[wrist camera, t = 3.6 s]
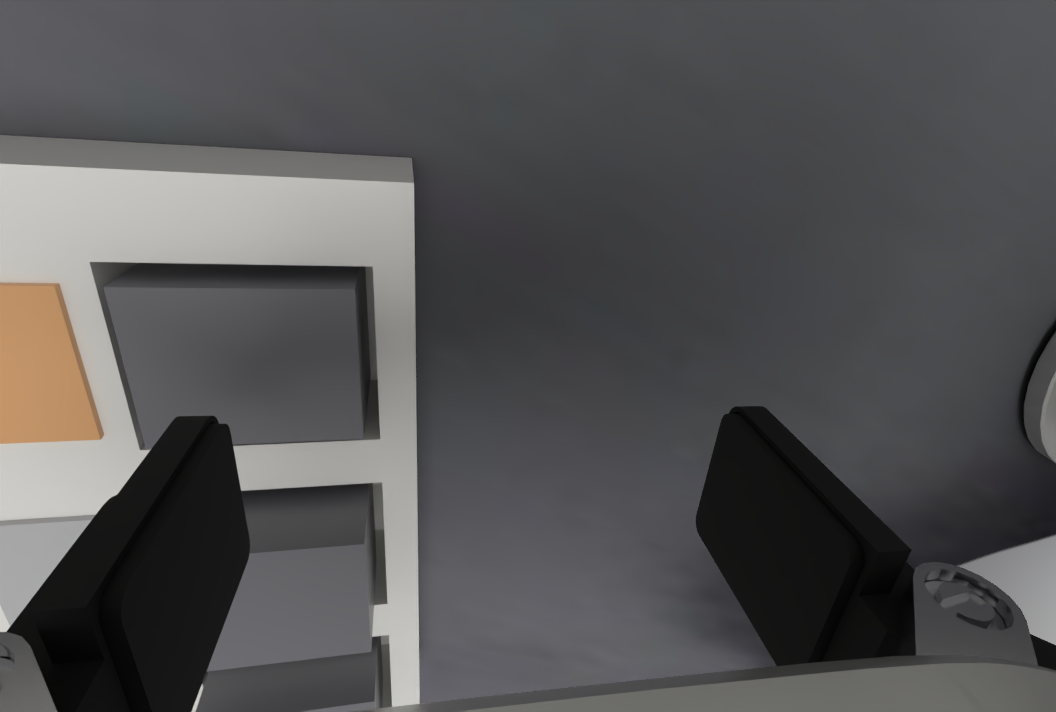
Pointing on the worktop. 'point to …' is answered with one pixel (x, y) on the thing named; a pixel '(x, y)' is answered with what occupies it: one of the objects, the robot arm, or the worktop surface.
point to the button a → (246, 348)
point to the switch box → (97, 367)
